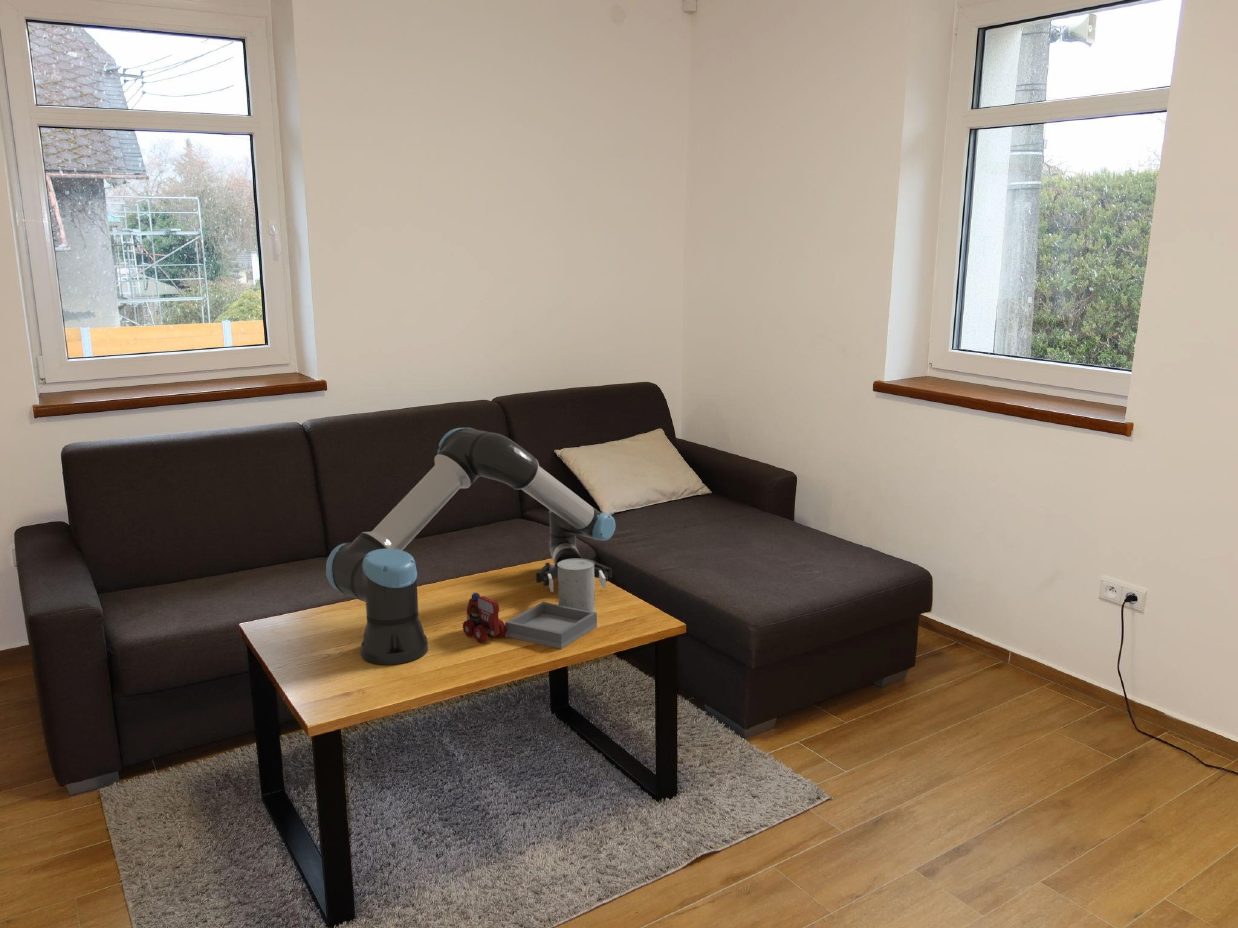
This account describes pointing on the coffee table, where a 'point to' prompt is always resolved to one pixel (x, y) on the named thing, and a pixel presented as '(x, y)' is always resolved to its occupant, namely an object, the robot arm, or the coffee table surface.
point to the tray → (551, 625)
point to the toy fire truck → (483, 619)
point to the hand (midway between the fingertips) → (578, 584)
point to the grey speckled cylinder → (576, 584)
